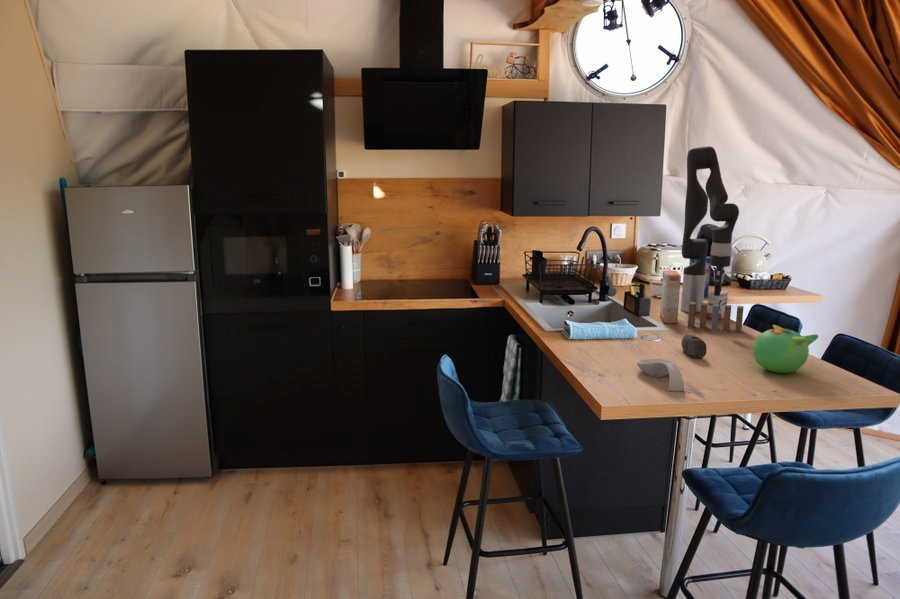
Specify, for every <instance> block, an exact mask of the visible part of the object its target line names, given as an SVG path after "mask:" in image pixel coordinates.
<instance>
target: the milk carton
mask: <svg viewBox="0 0 900 599" xmlns="http://www.w3.org/2000/svg"><path fill="white" fill-rule="evenodd" d="M710 258H711V256H707V257H706V266H705V280H704V296H708V297H709V292H710V291H709V290H710V277H711V276H710V275H711V265H710ZM698 261H699V259H689V264H688V266H691V265H694V264H696V263H697V262H698Z"/></svg>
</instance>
